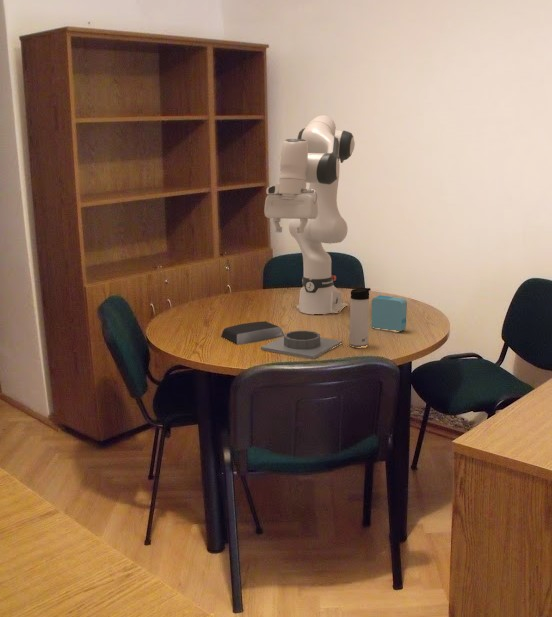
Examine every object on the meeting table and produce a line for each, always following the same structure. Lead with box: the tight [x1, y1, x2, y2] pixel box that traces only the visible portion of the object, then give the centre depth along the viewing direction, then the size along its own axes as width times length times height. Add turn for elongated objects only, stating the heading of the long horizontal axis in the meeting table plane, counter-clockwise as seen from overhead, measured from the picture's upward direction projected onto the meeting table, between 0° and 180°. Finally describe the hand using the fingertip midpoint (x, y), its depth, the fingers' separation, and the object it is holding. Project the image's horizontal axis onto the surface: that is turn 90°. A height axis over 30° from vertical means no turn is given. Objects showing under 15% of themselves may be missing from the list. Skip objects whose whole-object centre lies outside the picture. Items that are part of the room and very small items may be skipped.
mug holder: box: [260, 330, 343, 360], centre depth 242 cm, size 20×20×4 cm
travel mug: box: [349, 287, 371, 347], centre depth 241 cm, size 6×7×20 cm
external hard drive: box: [220, 320, 285, 346], centre depth 255 cm, size 13×19×4 cm
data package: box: [370, 295, 408, 332], centre depth 262 cm, size 12×4×12 cm, turn 56°
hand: (289, 232), depth 231 cm, fingers open, 8 cm apart
